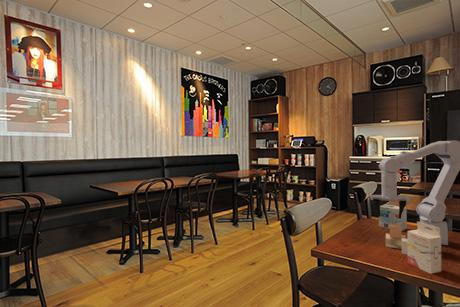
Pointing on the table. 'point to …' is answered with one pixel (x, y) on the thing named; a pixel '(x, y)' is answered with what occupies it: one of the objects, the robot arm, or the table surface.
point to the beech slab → (394, 242)
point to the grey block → (404, 246)
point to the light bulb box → (392, 216)
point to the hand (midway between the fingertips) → (389, 217)
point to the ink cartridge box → (425, 248)
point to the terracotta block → (395, 231)
